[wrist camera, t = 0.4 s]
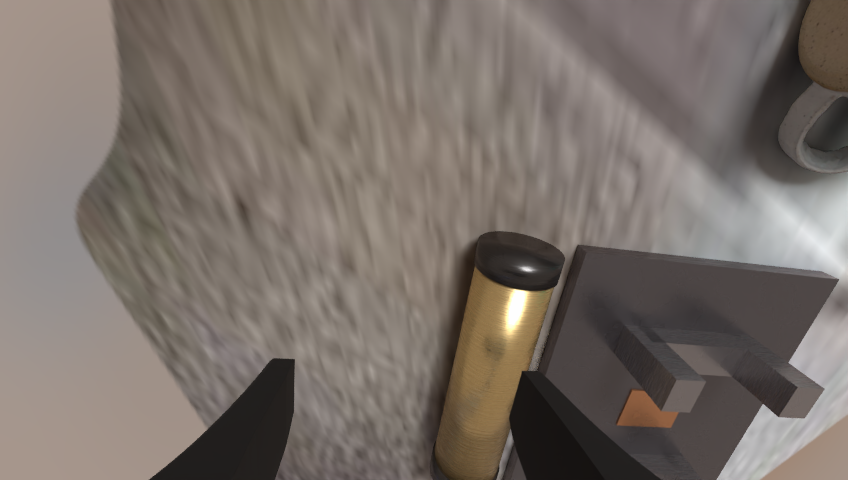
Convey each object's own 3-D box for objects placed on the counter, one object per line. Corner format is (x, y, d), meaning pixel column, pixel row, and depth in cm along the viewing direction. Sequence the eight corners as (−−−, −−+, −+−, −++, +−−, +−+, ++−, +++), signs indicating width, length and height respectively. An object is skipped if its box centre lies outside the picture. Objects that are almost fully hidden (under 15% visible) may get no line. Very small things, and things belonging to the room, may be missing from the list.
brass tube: (488, 444, 27) (501, 505, 23) (428, 439, 27) (431, 500, 23) (548, 237, 21) (579, 272, 17) (472, 227, 21) (487, 260, 17)
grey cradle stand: (686, 501, 32) (742, 582, 27) (496, 498, 30) (519, 585, 24) (821, 271, 24) (938, 324, 19) (578, 244, 22) (635, 295, 17)
